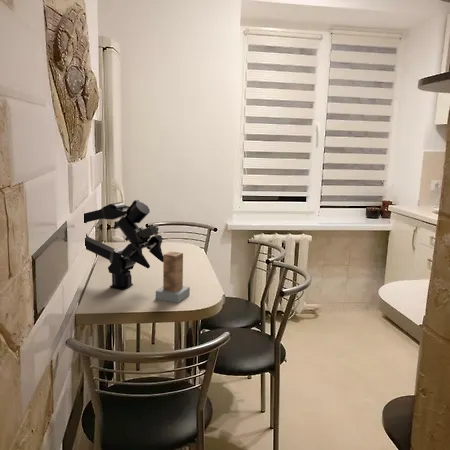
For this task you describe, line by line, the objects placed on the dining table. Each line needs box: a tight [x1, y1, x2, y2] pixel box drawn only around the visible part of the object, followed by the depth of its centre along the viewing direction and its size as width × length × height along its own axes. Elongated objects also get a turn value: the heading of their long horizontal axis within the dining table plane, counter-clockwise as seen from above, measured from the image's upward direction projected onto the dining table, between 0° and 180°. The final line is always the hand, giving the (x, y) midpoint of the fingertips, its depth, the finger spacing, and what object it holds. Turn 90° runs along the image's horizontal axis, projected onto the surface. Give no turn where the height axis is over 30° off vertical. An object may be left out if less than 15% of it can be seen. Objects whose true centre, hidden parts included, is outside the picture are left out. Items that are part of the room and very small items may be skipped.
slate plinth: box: [155, 285, 191, 304], centre depth 161 cm, size 9×9×3 cm
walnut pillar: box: [162, 250, 184, 292], centre depth 159 cm, size 5×5×13 cm
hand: (156, 264), depth 162 cm, fingers open, 9 cm apart
